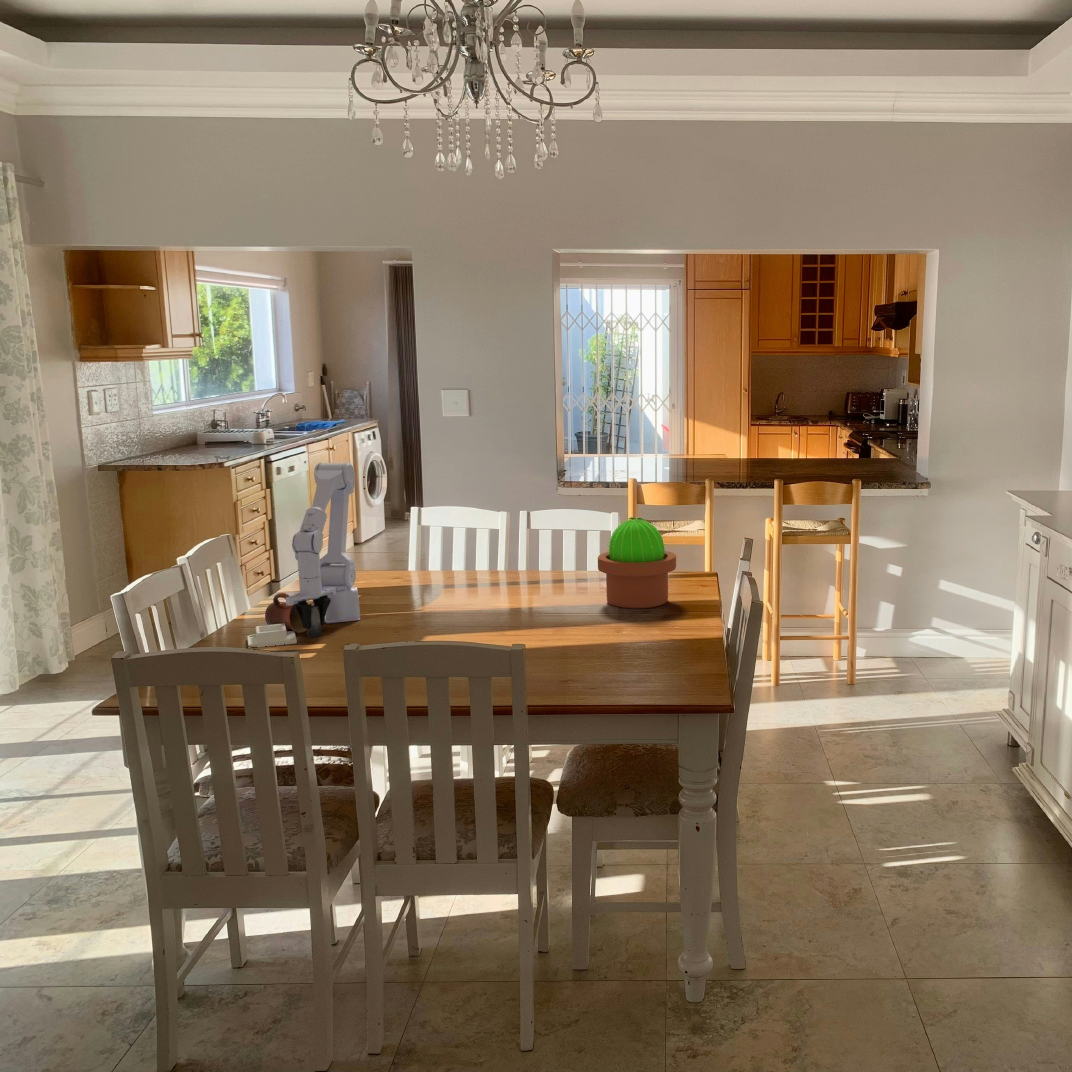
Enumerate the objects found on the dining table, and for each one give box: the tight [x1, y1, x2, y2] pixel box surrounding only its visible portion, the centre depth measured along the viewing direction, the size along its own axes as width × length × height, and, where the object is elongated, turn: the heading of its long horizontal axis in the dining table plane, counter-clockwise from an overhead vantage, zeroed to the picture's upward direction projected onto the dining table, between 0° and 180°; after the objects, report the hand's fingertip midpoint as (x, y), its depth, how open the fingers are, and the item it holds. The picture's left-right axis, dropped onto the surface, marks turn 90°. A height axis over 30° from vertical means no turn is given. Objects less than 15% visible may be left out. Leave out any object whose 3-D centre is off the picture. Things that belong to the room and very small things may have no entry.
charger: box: [247, 623, 297, 649], centre depth 261 cm, size 12×9×4 cm
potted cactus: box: [597, 516, 677, 609], centre depth 288 cm, size 22×22×25 cm
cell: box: [306, 602, 322, 638], centre depth 265 cm, size 4×4×9 cm
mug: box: [264, 592, 308, 634], centre depth 271 cm, size 12×9×10 cm
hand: (313, 626), depth 265 cm, fingers closed on cell, 4 cm apart
